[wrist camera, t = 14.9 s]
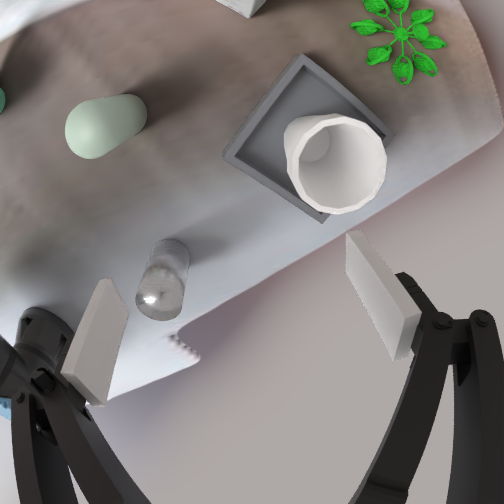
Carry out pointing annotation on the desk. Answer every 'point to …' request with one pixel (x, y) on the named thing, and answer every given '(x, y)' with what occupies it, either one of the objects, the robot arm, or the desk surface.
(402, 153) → the desk surface
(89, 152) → the sage canister
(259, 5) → the supplement box
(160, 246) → the steel canister
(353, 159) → the foam cup
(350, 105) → the tray
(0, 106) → the mug
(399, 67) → the green leafy sprig
